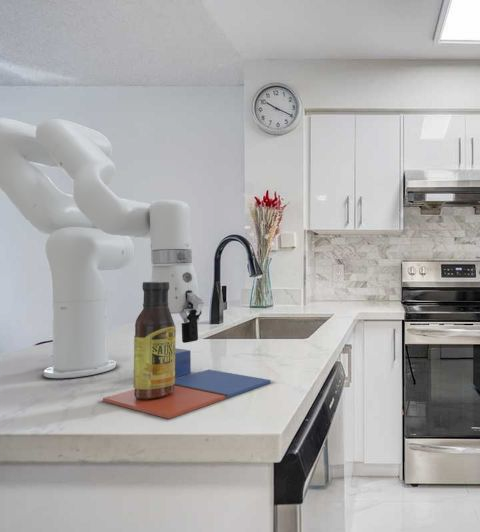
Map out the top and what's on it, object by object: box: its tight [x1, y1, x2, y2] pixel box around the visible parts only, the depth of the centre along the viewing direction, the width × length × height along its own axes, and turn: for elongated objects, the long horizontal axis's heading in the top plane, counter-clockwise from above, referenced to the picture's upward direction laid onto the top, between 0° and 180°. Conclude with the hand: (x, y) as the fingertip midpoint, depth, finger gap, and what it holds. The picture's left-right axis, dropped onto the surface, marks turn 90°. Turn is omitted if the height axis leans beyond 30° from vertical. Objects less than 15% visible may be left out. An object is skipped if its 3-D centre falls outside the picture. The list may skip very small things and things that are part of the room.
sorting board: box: [102, 369, 272, 420], centre depth 76 cm, size 18×21×1 cm
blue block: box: [175, 347, 192, 378], centre depth 88 cm, size 5×5×5 cm
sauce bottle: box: [132, 281, 177, 399], centre depth 73 cm, size 6×6×20 cm
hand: (175, 340), depth 88 cm, fingers open, 9 cm apart
